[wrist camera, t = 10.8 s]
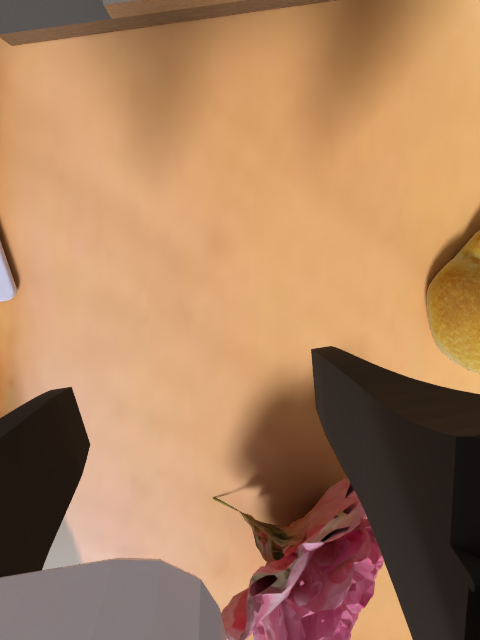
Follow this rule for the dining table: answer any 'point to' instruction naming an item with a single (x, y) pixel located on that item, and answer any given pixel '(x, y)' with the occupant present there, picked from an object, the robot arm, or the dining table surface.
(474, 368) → the bread roll
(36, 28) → the grey plate with knobs
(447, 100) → the dining table surface
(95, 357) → the dining table surface
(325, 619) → the flower
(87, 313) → the dining table surface
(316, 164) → the dining table surface
